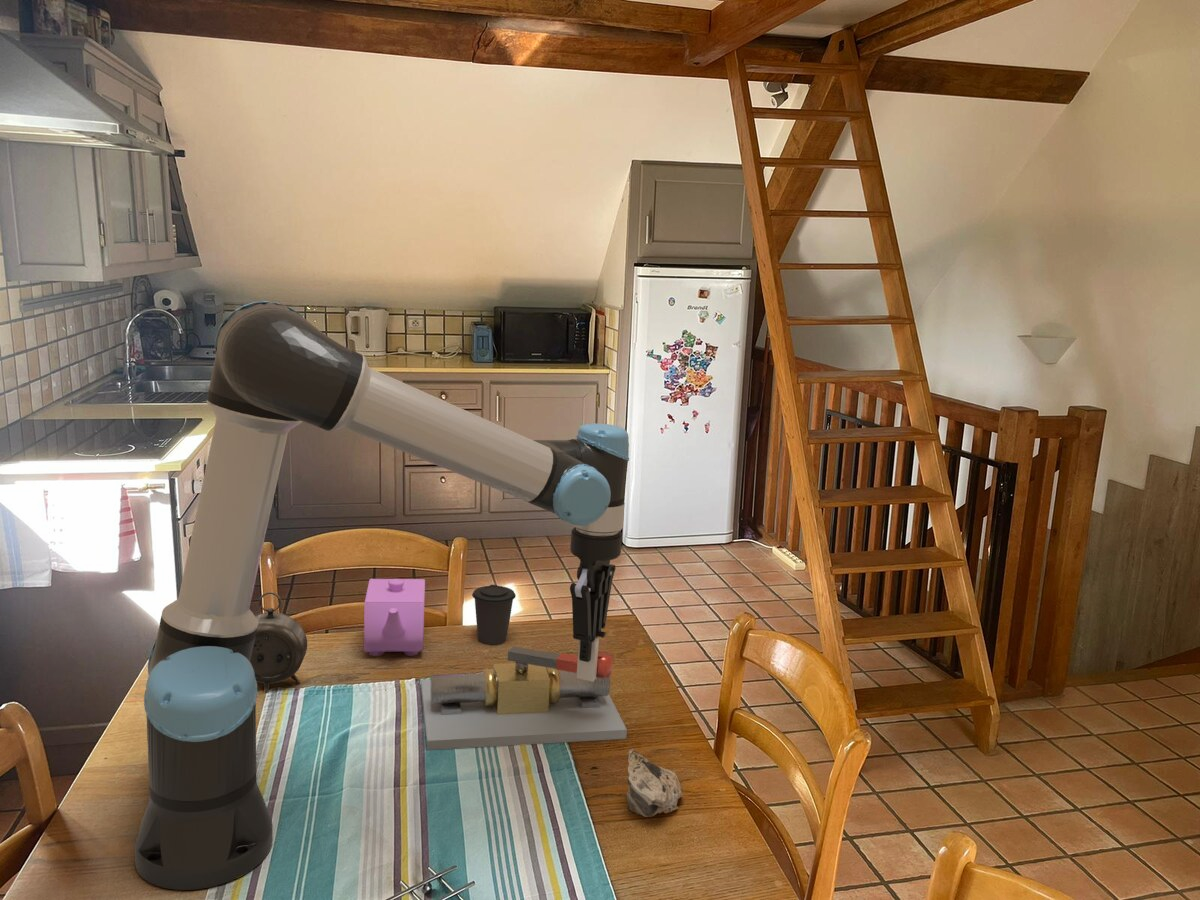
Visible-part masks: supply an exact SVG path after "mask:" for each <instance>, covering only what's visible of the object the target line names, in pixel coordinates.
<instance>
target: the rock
mask: <svg viewBox="0 0 1200 900" xmlns="http://www.w3.org/2000/svg"><path fill="white" fill-rule="evenodd" d="M627 760H628V765H627V773H628V778H627V785H628V790H627V793H626V801H627V802H626V803H627V806H628V808H629V811H631V812H633V813H634V814H636V815H638V816H639V815H640V816H643V817H645V818H652V817H654V816H655V815H657V814H661V813H664V814H669V813H673V811H676V810H677V809H679V807H678V802H679V799H680V798H682V797H684V795H683V786H682V784H681V782H680V780H679V777H678V776H677V774H676V773H675V772H674V771H673V770H670V769H668V768H664V767H662V766H658V765H657V764H654V763H652V762H651V761H650V760H649V759H648V758H646V757H644V755H642V754H641V753H639V751H635V748H631V749H629V751H628V755H627Z"/></svg>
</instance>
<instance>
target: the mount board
mask: <svg viewBox="0 0 1200 900" xmlns="http://www.w3.org/2000/svg"><path fill="white" fill-rule="evenodd" d="M430 680H431V678H430V679H421V680H420V683H421V684H420V694H421V702H422V703H421V704H422V712H423V720H424V721H423V723H424V731H425V734H424V735H425V743H426V750H427V751H437V750H438V751H439V750H440V751H441V750H452V749H453V750H454V749H470V748H471V749H472V748H487V747H505V746H506V747H507V746H523V745H541V744H557V743H577V742H594V741H606V740H607V741H611V740H626V739H627V735H628V734H627V732H628V730H627V727H626V725H625V723H624V721H623V720H622V717H621V715H620V713H619V712H618V709H617V707H616V705H615V704H614V701H613V700H612V698H611V696H610V694H609V695H608V696H598V698H599V700H600V707H597V708H581V706H580V703H579V701H578V699H577V697H575V698H560V699H559V702H558V703H549V707H548V712H540V713H520V714H500V715H497V712H496V708H495V706H484V704H483V702H469V703H460V704H461V714H456V715H441V709H440V704H431V699H430Z"/></svg>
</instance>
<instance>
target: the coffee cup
mask: <svg viewBox="0 0 1200 900" xmlns="http://www.w3.org/2000/svg"><path fill="white" fill-rule="evenodd" d="M471 596H472V598H474V607H475V618H476V619H475V621H476V632H477V633H476V634H477V640H478V642H479V643H481V644H482V645H487V646H499V645H503V644H505V643H506V642H507V639H508V633H509V628H510V627H509V626H510V620H511V614H512V608H513V601H514V599H516V596H517V595H516V593H515V592H514V590H513V589H511V588H510V587H506V586H503V585H498V584H490V585H483V586H480V587H477V588H475V590H473V592H472V594H471Z"/></svg>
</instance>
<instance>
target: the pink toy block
mask: <svg viewBox="0 0 1200 900" xmlns="http://www.w3.org/2000/svg"><path fill="white" fill-rule="evenodd" d="M367 585H368V586H367V590H366V594H365V599H364V606H363V607H364V610H363V611H364V612H363V613H364V616H363V617H364V619H363V620H364V622H363V624H364V625H363V652H364V653H367V652H369V655H370V656H373V657H379V656H382V655H384V654H385V652H388V653H389V652H404V653H403V654H404V655H406V656H409V657H413V656H417V655H419V652H423V651H424V649H423V647H424V633H425V632H424V630H425V599H426V598H425V595H426V579H425V578H370V579H369V581H368V584H367Z"/></svg>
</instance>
